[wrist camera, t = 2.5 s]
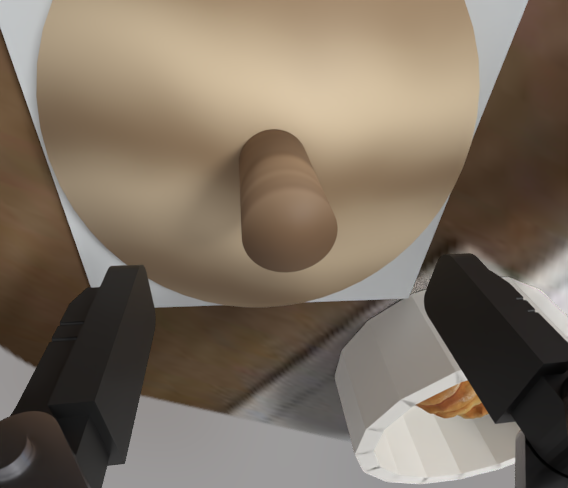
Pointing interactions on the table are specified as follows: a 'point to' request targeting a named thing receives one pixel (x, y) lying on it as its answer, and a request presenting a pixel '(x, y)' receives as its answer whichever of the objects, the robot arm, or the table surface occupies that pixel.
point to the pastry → (455, 403)
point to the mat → (97, 259)
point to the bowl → (419, 398)
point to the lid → (257, 135)
